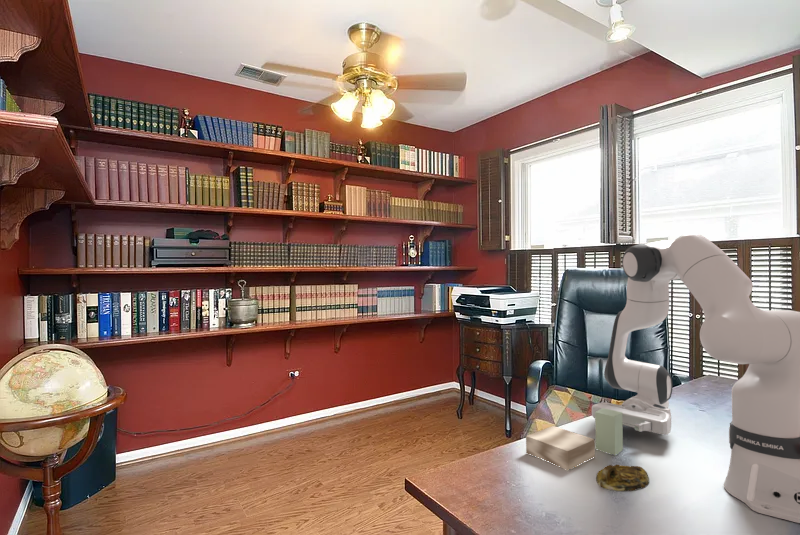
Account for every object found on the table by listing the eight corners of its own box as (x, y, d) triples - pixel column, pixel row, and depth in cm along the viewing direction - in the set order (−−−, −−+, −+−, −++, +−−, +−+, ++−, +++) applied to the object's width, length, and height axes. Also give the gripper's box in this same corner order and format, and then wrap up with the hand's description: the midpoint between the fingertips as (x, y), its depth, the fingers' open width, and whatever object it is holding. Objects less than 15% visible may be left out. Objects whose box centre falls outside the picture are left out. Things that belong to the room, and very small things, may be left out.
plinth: (594, 458, 108) (594, 439, 108) (568, 472, 101) (567, 451, 101) (553, 443, 118) (553, 425, 118) (526, 455, 111) (526, 435, 111)
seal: (621, 469, 105) (584, 485, 97) (619, 449, 105) (582, 463, 97) (661, 480, 97) (624, 498, 89) (658, 458, 97) (621, 475, 89)
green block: (622, 450, 113) (622, 412, 113) (615, 455, 109) (614, 416, 109) (603, 444, 116) (603, 408, 116) (595, 449, 113) (595, 412, 113)
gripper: (602, 394, 134) (582, 403, 125) (676, 410, 119) (659, 421, 110) (602, 415, 134) (582, 425, 125) (677, 432, 119) (660, 446, 109)
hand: (619, 423), depth 117 cm, fingers open, 8 cm apart
